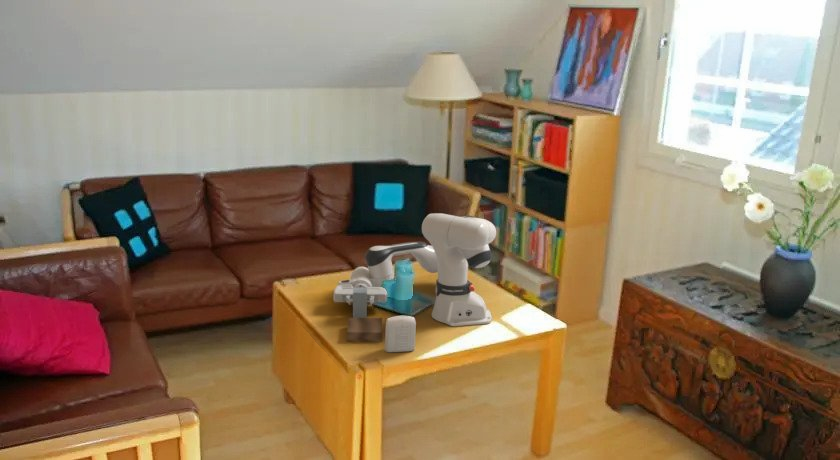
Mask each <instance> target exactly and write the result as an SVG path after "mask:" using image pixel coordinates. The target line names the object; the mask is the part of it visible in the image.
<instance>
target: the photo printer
mask: <svg viewBox="0 0 840 460" xmlns="http://www.w3.org/2000/svg"><path fill="white" fill-rule="evenodd" d="M416 326H417V322H416V318H415V317H414V316H411V315H396V316H392V317H391V316H390V317H388V318H387V319H386V321H385V337H384V351H385V352H386V353H401V352H413V351H415V350H416V349H415V348H416V347H415V346H416V330H417V328H416Z"/></svg>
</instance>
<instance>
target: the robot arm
mask: <svg viewBox="0 0 840 460" xmlns="http://www.w3.org/2000/svg"><path fill="white" fill-rule="evenodd" d="M496 229H497V228H496V225H494V224H493V222H491V221H489V220H487V219H485V218H480V217H475V216H473V215H464V216H457V215H453V214H447V213H440V212H439V213H437V212H435V213H429V214H427V216H426V217H425V218H424V219H423V221H422V224H421V233H422V235H423V237H424V238H425V239H426V240H427V241H428V242H429V244H430V245H429V244H427V243H426V242H425V241H409V242H402V243H396V244H395V243H393V244H387V245H374V246H371V247H369V248H368V250H366V253H365V255H364V260H365V263H366V266H367V267H366V266H358V267H356V268H355V269H354V270H353V271H352V272H351V274H350V278H349V279H346V280H340V281H338V283H337V285H336V286H335V288H334V289H333V292H332V293H333V297H332V299H333V300H332V301H333V302H335V303H347V304H348V306H353V288H367V306H372V304H374V303H386V302H387V301H388V293H387V291H386V289H385V288H383V287H381V282H382V281H383V280H391V279H393V278H394V274H395V271H394V267H393V263H392V258H393V257H395V256H403V255H408V254H409V255H412V256H414V259H415V260H416V261H417V263H418V265H420V267H421V268H422V269H423V270H425V271H426V272H428V273H431V274H436V273H437V278H436V281H435V282H436V283H435V300H434V301H435V302H434V305H433V309H432V311H431V317H432V319H434V320H435V321H437V322H440V323H444V324H446V325H448V326H449V327H463V326H476V325H487V324H490V323H491V322H492V319H493V317H492V313H491V311H490V310H489V309H488V308H487V306H486V302H485V301H484V299H483V297H482V296H481V295H479V294H478V293H476V292H475V290H476V287H475V286H474V285H473V283H472V281H471V280H470V279H468V273H469V268H472V269H480V268H481V269H482V268H484V267H486V266H487V265H488V264H489V263H491V262H492V260H493V253H492V250H491V249H490V246H489V244H490V243H492V242H493V241H494V240H495V238H496V237H497V230H496Z"/></svg>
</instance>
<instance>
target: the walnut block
mask: <svg viewBox="0 0 840 460" xmlns="http://www.w3.org/2000/svg"><path fill="white" fill-rule="evenodd" d="M346 333H347V334H346V342H347V343H356V342H357V343H383V318H381V317H367V318H353V317H348V318H347V331H346Z"/></svg>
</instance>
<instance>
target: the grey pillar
mask: <svg viewBox="0 0 840 460" xmlns="http://www.w3.org/2000/svg"><path fill="white" fill-rule="evenodd" d="M367 307H368V305H367V288H353V305H352V318H368V317H367V315H368V314H367V313H368V311H367V309H368V308H367Z"/></svg>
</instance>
